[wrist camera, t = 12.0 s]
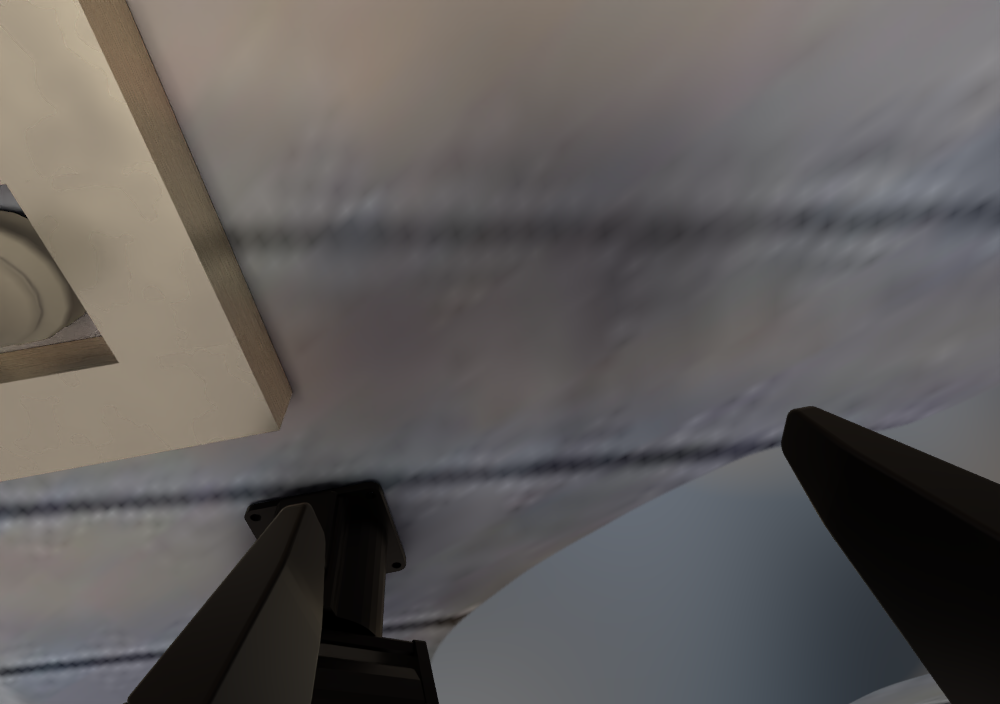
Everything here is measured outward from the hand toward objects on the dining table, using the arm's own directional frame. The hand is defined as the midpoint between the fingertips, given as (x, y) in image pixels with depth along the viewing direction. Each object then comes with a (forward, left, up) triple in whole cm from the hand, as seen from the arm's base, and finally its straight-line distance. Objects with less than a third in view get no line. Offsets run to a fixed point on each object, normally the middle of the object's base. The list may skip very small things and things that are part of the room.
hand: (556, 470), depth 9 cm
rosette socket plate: (+2, +16, -12) cm, 20 cm away
